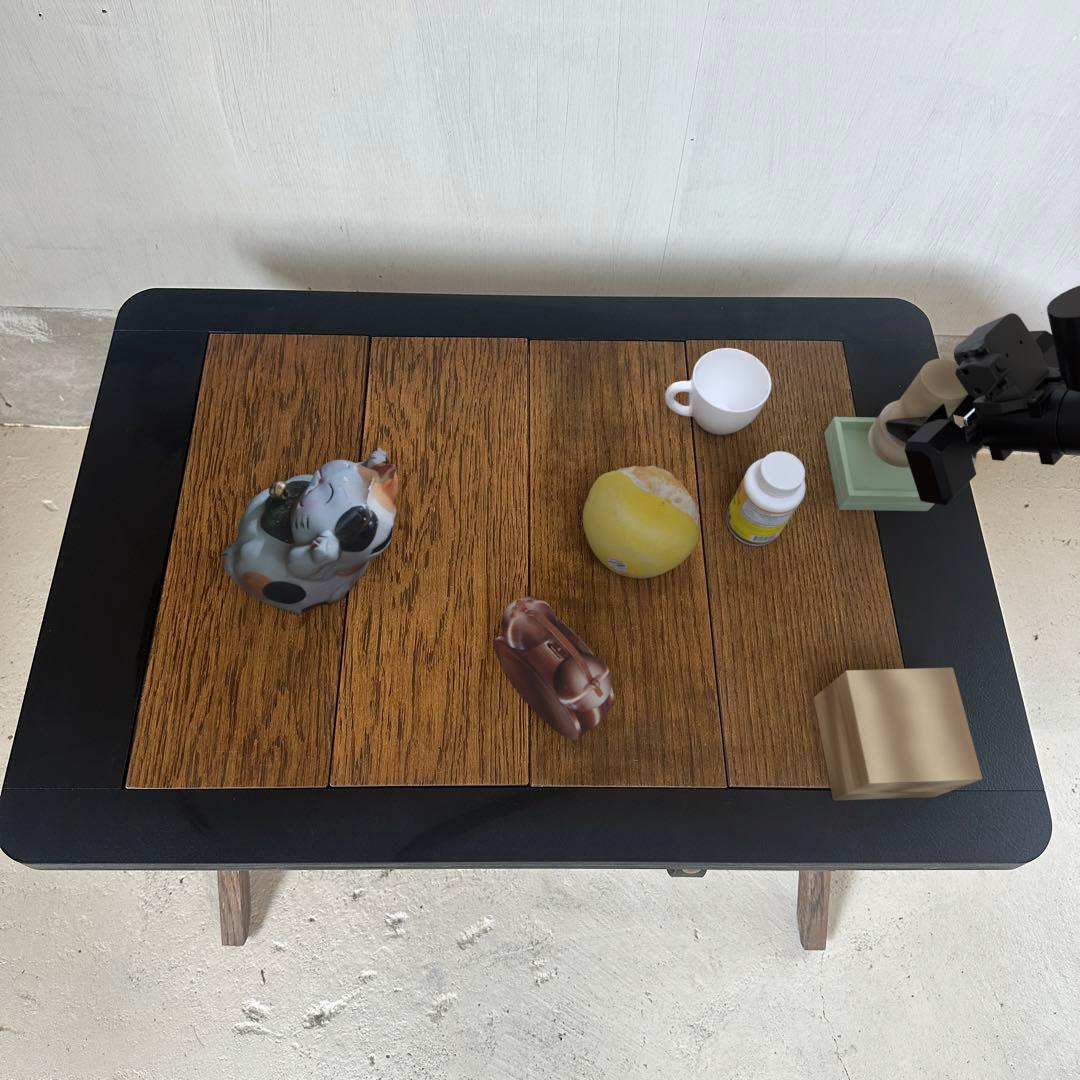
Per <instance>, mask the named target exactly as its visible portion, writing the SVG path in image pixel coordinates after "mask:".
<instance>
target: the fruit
mask: <svg viewBox="0 0 1080 1080" xmlns="http://www.w3.org/2000/svg"><path fill="white" fill-rule="evenodd" d="M699 520H700V512H699V509H698V505H697V504H696V501H695V499H694V498H693V497H692V496H691V494H689V492H688V489H687V488H686V487H685V485H684V484H683V483H682V482H680V481H679V479H677V478H675V476H674V475H673V474H672V472H670V471H668V470H666V469H664V468H660V467H658V466H657V465H647V466H638V465H632V466H628V467H618V469H616V470H611V471H609V472H605V473H603V474H601V475H599V477H598V478H597V479H596V480H595V481H594V483H593V484H592V487H591V488H590V490H589V492H588V494H587V497H586V500H585V502H584V506H583V510H582V525H583V530H584V534H585V537H586V539H587V543H588V545H589V547H590V549H591V550H592V552H593V554H594V556H595V557H596V558H597V559H598V560H599V562H601V564H603V565H604V566H605V567H606V568H608V570H610V571H611V572H613V573H615V574H618V575H621V576H623V577H627V578H631V579H650V578H655V577H658V576H661V575H664V574H665V573H667V572H669V571H671V570H673V569H674V568H676V567H678V566H679V565H680V564H682V563H683V562H684V561H686V559H687V558H688V557H689V556H690V555H691V553H692V552H693V551H694V550H695V548H696V546H697V544H698V542H699V539H700V533H701V531H700V526H699V522H700V521H699Z"/></svg>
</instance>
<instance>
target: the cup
mask: <svg viewBox="0 0 1080 1080" xmlns="http://www.w3.org/2000/svg"><path fill="white" fill-rule="evenodd" d="M771 392H772V378H771V374H770V373H769V370H768V369H767V367H766V365H765V364H764V363H763V362H762V361H761V360H760V359H758V358H757V357H756V356H755V355H753V354H752V353H749V352H747V351H745V350H741V349H739V348H733V347H732V348H731V347H722V348H717V349H714V350H711V351H709V352H708V351H707V352H706V353H705V354H703V355H702V356H701V357H700V358H699V359H698V360H697V361H696V363H695V365H694V367H693V371H692V373H691V377H690V380H679V381H675V382H673V383H671V384H670V385H669V386H668V387H667V389H666V390H665V392H664V402H665V404H666V406H667V407H668V408H669V410H671V411H673V412H674V413H675V414H677V415H680V416H682V417H689V418H691V417H692V418H693V419H694V420H695V422H696V423H697V425H698V426H699V427H700V428H701V429H702V430H703V431H705V432H707V433H709V434H711V435H715V436H717V435H718V436H724V435H730V434H735V433H736V432H739V431H740V430H742V429H743V430H744V428H746V427H747V426H749V425H750V424H751V423H752V422H753V421H754V420H755V419H757V417H758V416H759V415H760V413H761V411H762V410H763V408H764V407H765V405H766V403H767V401H768V398H769V396H770V394H771ZM678 393H687V398H688V399H687V400H688V405H683V404H681V403H679V402H678V401H676V400H675V396H676V395H677V394H678Z"/></svg>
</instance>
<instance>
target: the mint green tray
mask: <svg viewBox="0 0 1080 1080" xmlns="http://www.w3.org/2000/svg"><path fill="white" fill-rule="evenodd" d="M877 418H878V417H865V416H864V417H863V416H861V417H860V416H855V417H854V416H833V418H832V419H831V420H830V423H829V424H828V426H827V428H826V429H825V431H824V433H823V434H824V440H825V445H826V451H827V456H828V461H829V466H830V472H831V478H832V484H833V488H834V493H835V498H836V505H837V510H839V511H891V512H892V511H893V512H895V511H896V512H897V511H899V512H929V510H931V508H932V507H933V506H935V504H934V503H927V502H923V501H920V498H919V494H918V491H917V488H916V485H915V482H914V479H913V476H912V472H911V469H910V467H908V468H901V467H895V466H892V465H890V464H887V463H886V462H884V461H882V460H881V459H880V458H879V457H878V456H877V455H876V454H875V453H874V452H873V450H872V449H871V447H870V444H869V439H868V434H869V430H870V428H871V426H872V425H873V423H874V422H875V421H876V419H877Z"/></svg>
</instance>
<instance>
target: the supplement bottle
mask: <svg viewBox="0 0 1080 1080" xmlns="http://www.w3.org/2000/svg"><path fill="white" fill-rule="evenodd" d="M805 478H806V470H805V467H804V464H803V463H802V461H801V460H800V459H799V458H798V457H797V456H795V455H794V454H792V453H791V452H787V451H782V450H781V451H780V450H779V451H778V450H777V451H773V452H770V453H768V454H767V455H766V456H765V457H763V458H760V459H757V460H756V461H754V462H753V463H752V464H751V465H750V466H749V467H748V469H747V470H746V472H745V474H744V476H743V478H742V480H741V482H740V484H739V486H738V488H737V490H736V492H735V494H734V496H733V498H732V500H731V502H730V504H729V506H728V508H727V511H726V525H727V528H728V530H729V531H730V533H731V535H732V536H733V537H735V538H736V539H737V540H738V541H740V543H743V544H746V545H749V546H753V547H759V546H765V545H768V544H771V543H772V542H774V541H775V540H776V539H777V538H778V537H779V535H780V534H781V532H782V531H783V530H784V528H785V526H786V525H787V524H788V523H789V520H790V519H791V518H792V516H793V515H794V513H795V512H796V510H797V509H798V507H799V505H800V504H801V502H802V501H803V499H804V497H805V495H806V481H805Z"/></svg>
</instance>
